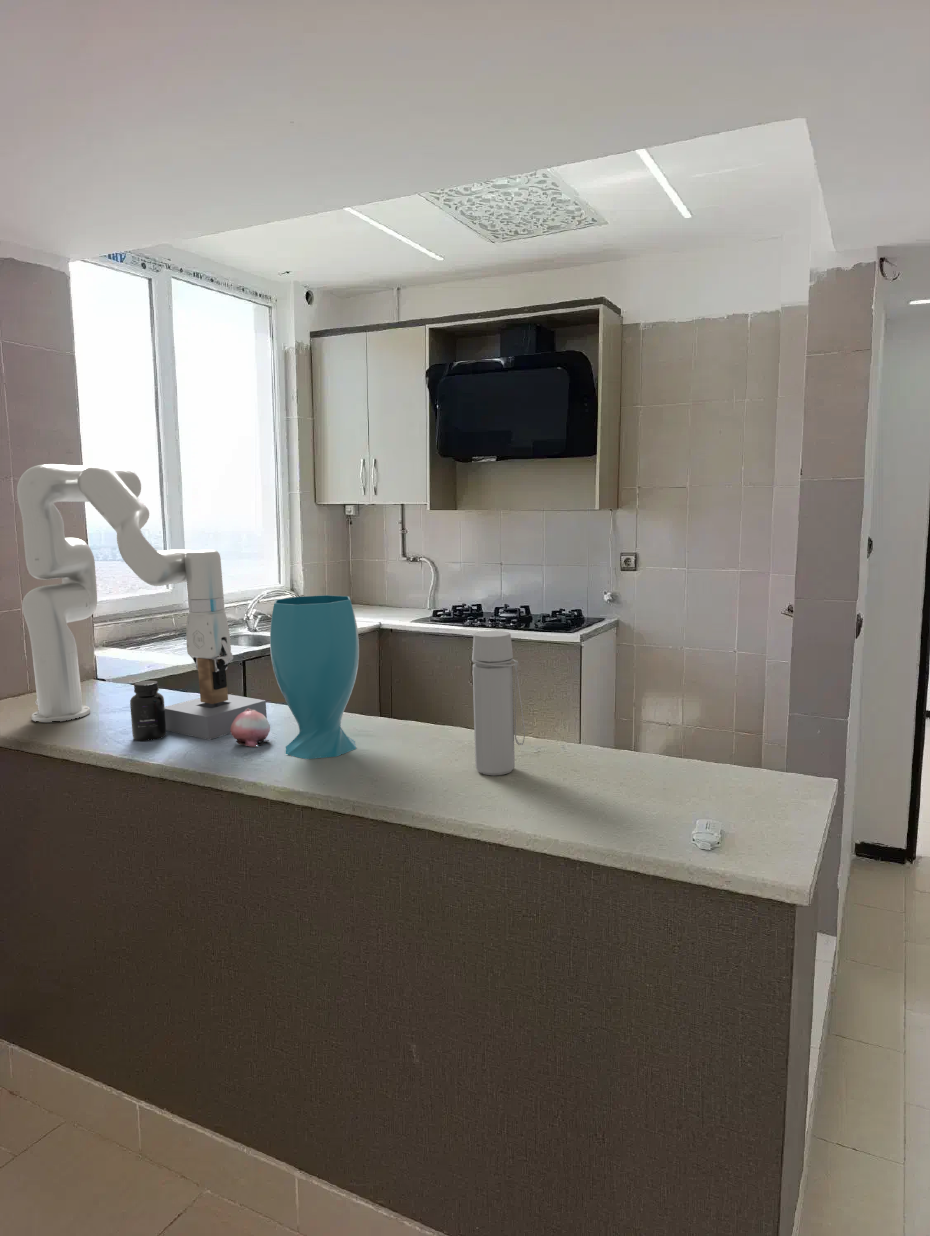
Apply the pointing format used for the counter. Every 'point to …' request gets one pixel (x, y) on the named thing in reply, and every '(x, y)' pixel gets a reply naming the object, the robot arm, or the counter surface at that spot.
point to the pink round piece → (250, 728)
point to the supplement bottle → (147, 712)
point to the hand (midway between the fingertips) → (213, 686)
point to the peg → (209, 683)
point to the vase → (316, 669)
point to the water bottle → (494, 702)
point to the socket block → (209, 716)
